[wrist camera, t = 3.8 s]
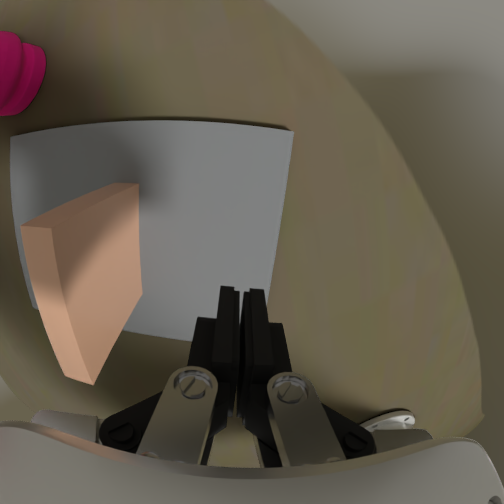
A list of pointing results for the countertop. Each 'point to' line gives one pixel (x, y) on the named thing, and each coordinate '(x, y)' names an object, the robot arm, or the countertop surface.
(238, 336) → the robot arm
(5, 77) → the pepper mill
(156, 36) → the countertop surface
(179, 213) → the mat
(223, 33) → the countertop surface
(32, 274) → the tile
